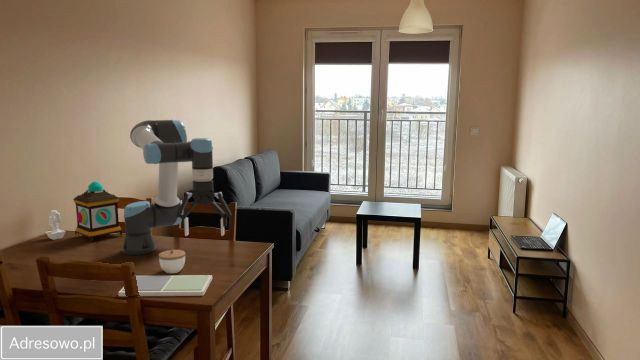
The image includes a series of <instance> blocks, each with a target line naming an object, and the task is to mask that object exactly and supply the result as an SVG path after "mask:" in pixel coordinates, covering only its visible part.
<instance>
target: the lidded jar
mask: <svg viewBox="0 0 640 360" xmlns="http://www.w3.org/2000/svg"><path fill="white" fill-rule="evenodd" d="M158 258H159V259H158V260H159V265H160V267H161V269H162V270H163V271H164V272H165V273H166V274H177V273H179V272H181V270H182V269H183V268H184V266H185V262H186V251H184V250H182V249H170V250H164V251H162V252H160V253H158Z"/></svg>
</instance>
